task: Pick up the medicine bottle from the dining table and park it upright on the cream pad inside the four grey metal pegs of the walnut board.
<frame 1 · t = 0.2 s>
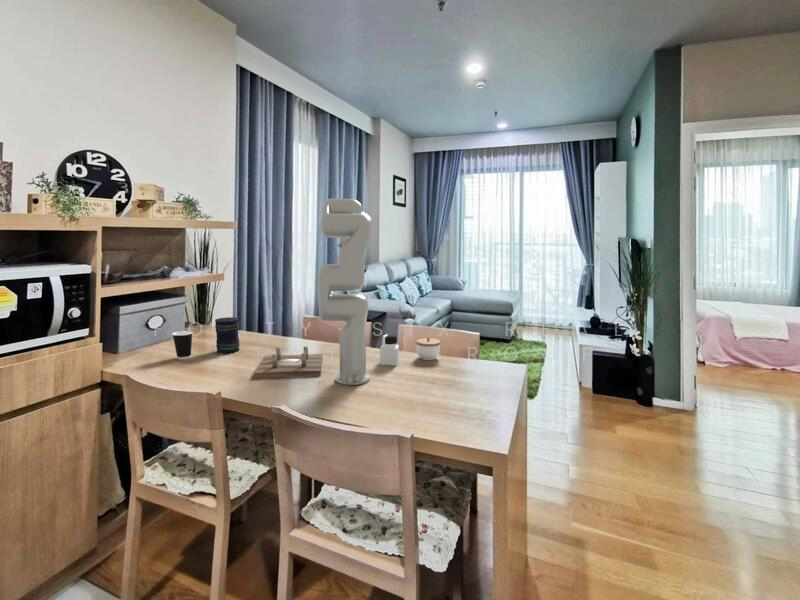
hand: (349, 283, 194), 31 cm above the table, tool pointing down, fingers open, 9 cm apart
peg board: (291, 367, 169), on the table
storage jar: (228, 351, 193), on the table
medicine bottle: (389, 363, 177), on the table
dixie cup: (184, 358, 182), on the table
lidded jar: (427, 358, 184), on the table
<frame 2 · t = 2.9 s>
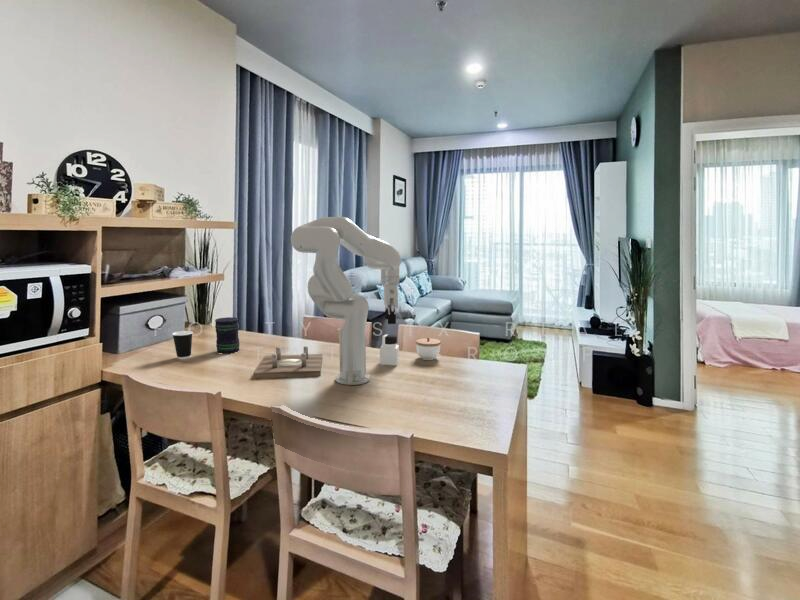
hand: (390, 321, 175), 18 cm above the table, tool pointing down, fingers open, 9 cm apart
nothing on the table moved.
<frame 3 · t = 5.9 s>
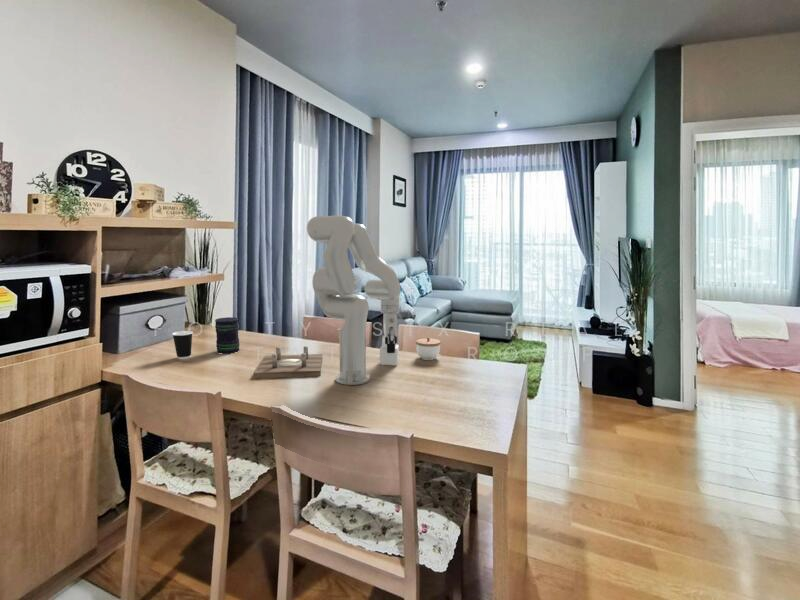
hand: (389, 349, 176), 6 cm above the table, tool pointing down, fingers closed on medicine bottle, 8 cm apart
medicine bottle: (389, 363, 177), on the table, touching gripper
everything else where it was.
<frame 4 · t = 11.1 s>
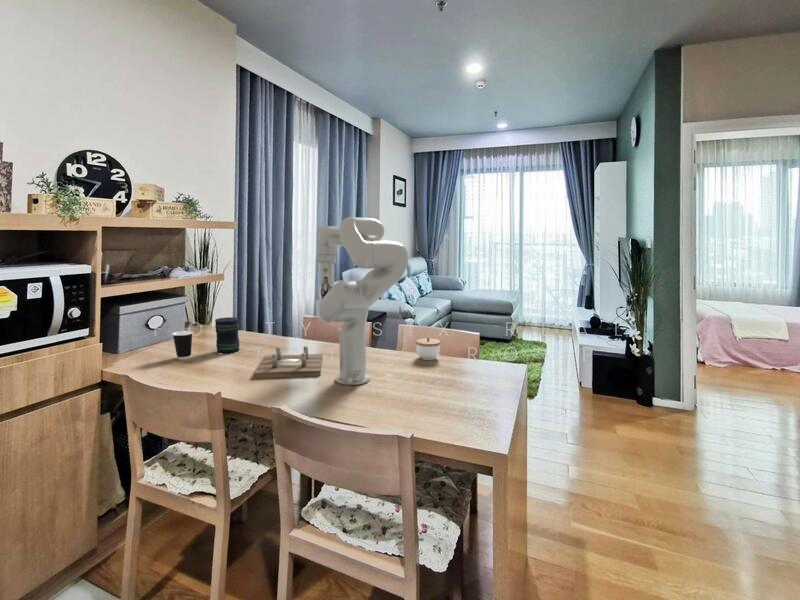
hand: (327, 302, 168), 26 cm above the table, tool pointing down, fingers closed on medicine bottle, 8 cm apart
medicine bottle: (327, 316, 169), point 20 cm above the table, touching gripper
everything else where it was.
when the fingers open (9 cm above the table, at t = 16.4 s): medicine bottle drops 1 cm, resting on peg board.
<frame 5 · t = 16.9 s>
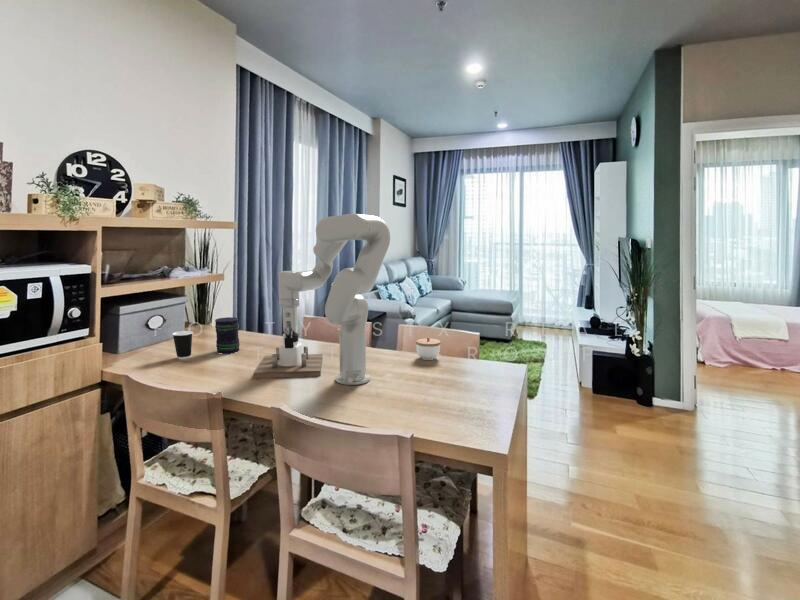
hand: (290, 345, 168), 9 cm above the table, tool pointing down, fingers open, 9 cm apart
medicine bottle: (291, 362, 169), point 2 cm above the table, touching peg board
everything else where it was.
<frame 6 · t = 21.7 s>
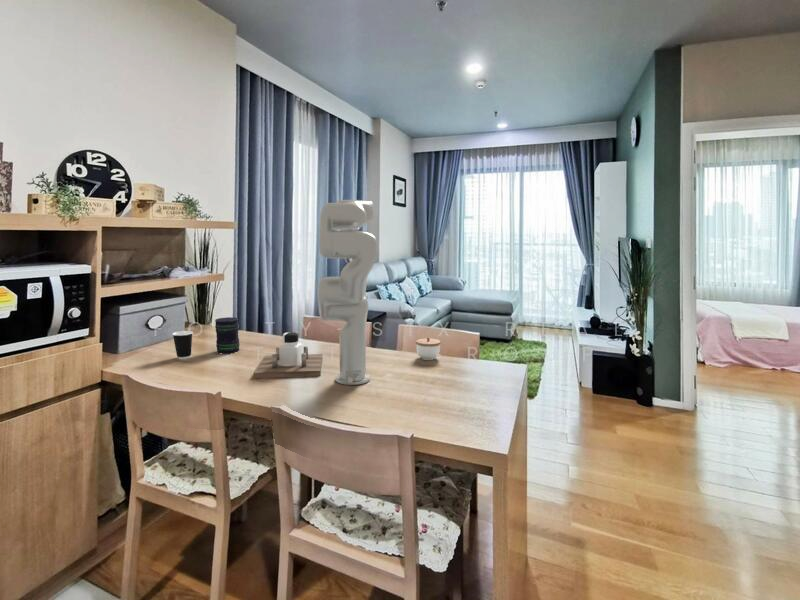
hand: (350, 276, 171), 36 cm above the table, tool pointing down, fingers open, 9 cm apart
nothing on the table moved.
at the end: medicine bottle 0.1 cm off-centre on the peg board, point 2.0 cm above the peg board's base; medicine bottle tilted 0°; the gripper is holding nothing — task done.
